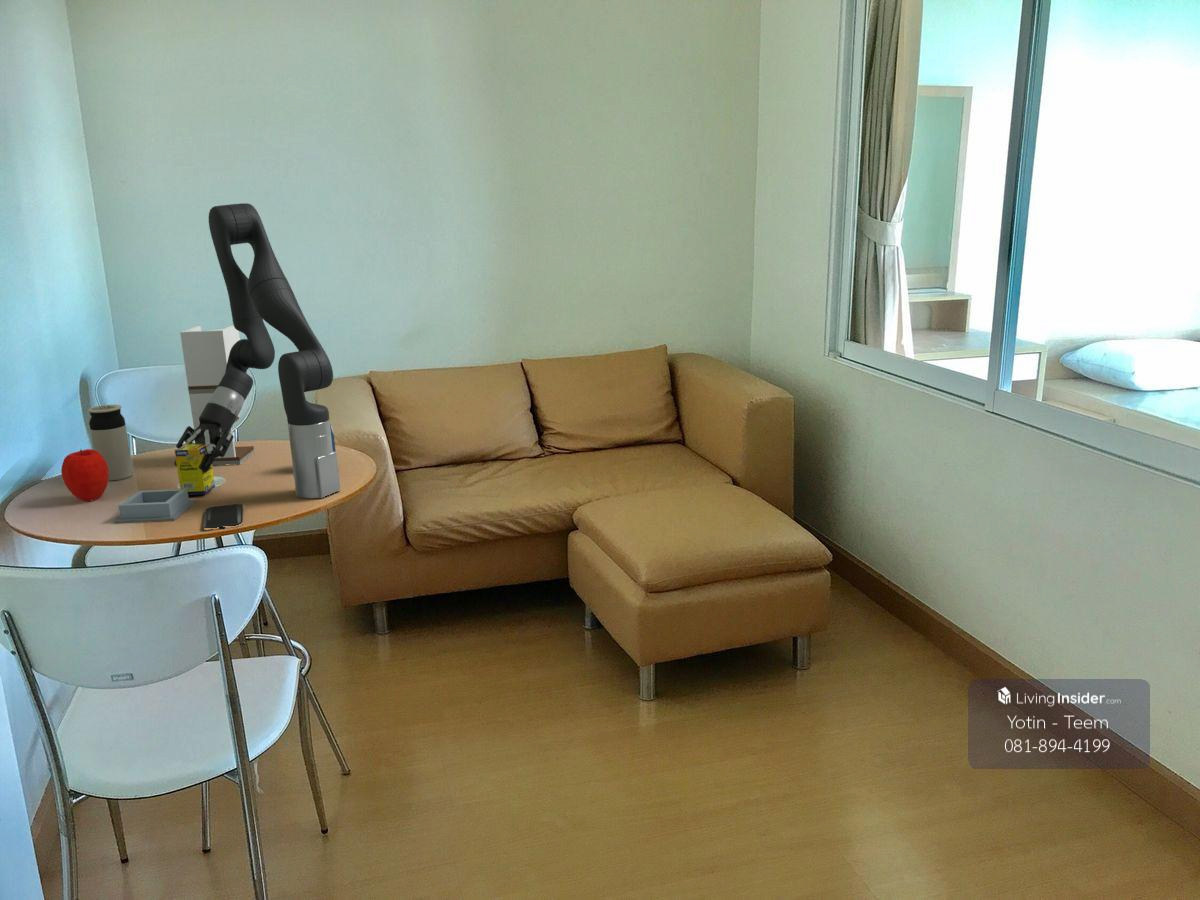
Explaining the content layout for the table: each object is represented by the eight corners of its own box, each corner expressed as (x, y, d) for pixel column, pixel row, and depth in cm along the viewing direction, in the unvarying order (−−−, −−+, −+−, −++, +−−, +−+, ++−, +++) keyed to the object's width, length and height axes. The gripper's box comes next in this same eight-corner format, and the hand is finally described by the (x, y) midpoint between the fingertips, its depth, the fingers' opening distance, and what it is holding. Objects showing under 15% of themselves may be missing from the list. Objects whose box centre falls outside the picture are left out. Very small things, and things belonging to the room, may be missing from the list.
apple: (82, 493, 238) (73, 443, 235) (121, 492, 237) (113, 443, 234) (57, 506, 228) (48, 454, 225) (99, 505, 228) (90, 454, 224)
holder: (195, 502, 227) (193, 487, 226) (174, 520, 215) (171, 504, 214) (138, 504, 227) (136, 489, 226) (113, 523, 214) (110, 507, 213)
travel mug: (116, 482, 246) (105, 411, 241) (91, 480, 248) (79, 410, 243) (140, 473, 253) (129, 404, 248) (115, 472, 255) (104, 403, 251)
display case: (240, 464, 258) (222, 330, 249) (199, 466, 258) (180, 332, 249) (254, 453, 269) (237, 324, 260) (215, 454, 269) (197, 326, 260)
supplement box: (205, 494, 231) (198, 449, 228) (180, 495, 231) (173, 450, 228) (216, 487, 237) (209, 442, 234) (191, 487, 237) (184, 443, 234)
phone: (242, 503, 223) (242, 523, 209) (243, 508, 223) (242, 528, 209) (205, 507, 220) (202, 528, 207) (205, 512, 221) (203, 533, 207)
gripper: (191, 399, 238) (158, 457, 232) (233, 403, 232) (200, 463, 225) (212, 416, 244) (180, 473, 237) (253, 420, 238) (222, 479, 231)
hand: (190, 468), depth 231 cm, fingers closed on supplement box, 8 cm apart
